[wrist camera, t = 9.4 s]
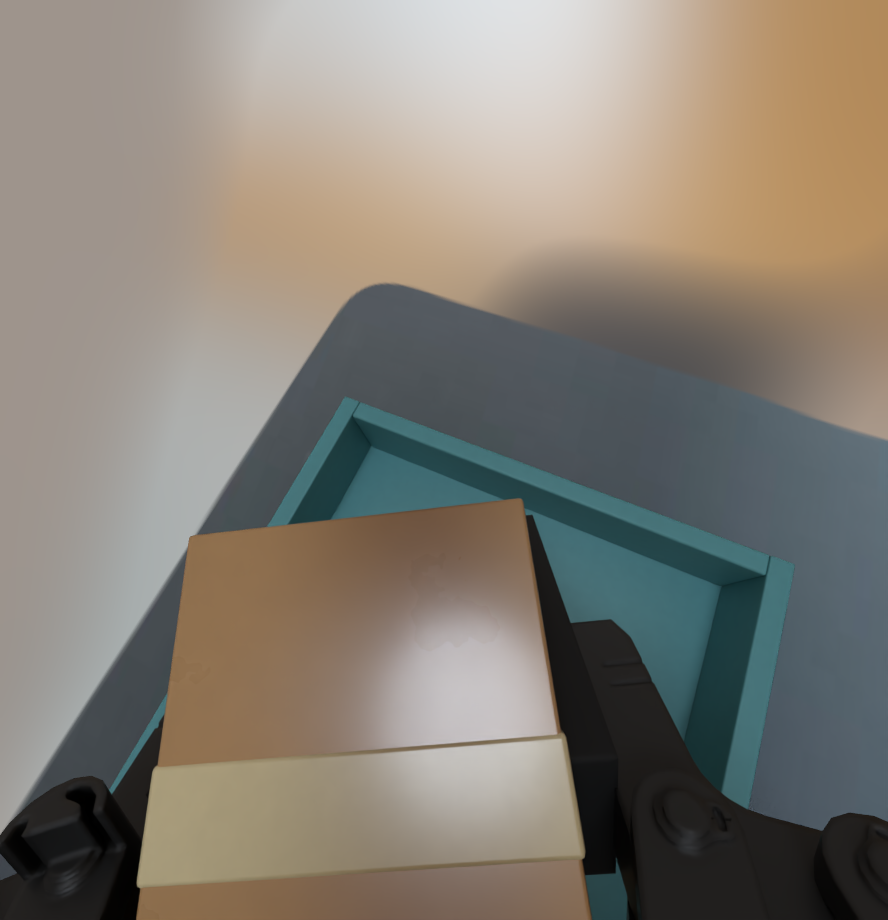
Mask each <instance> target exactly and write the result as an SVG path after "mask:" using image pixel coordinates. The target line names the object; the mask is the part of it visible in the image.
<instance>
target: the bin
mask: <svg viewBox="0 0 888 920" xmlns="http://www.w3.org/2000/svg"><path fill="white" fill-rule="evenodd" d="M516 498H520V499H522V500H523V503H524V509H525V515H533V517H534V520H535V523H536V526H537V529H538V532H539V534H540V537H541V540H542V543H543V546H544V549H545V551H546V554H547V557H548V560H549V563H550V566H551V568H552V571H553V574H554V577H555V580H556V583H557V585H558V588H559V591H560V594H561V597H562V600H563V602H564V605H565V608H566V611H567V614H568V617H569V619H570V622H571V623H576V622H587V621H597V620H607V619H612V620H613V621H614V622H615V623H616V624H617V625H618V626H619V627H620V628H621V629H623V630H624V631H625V632H626V633H627V634H628V635H629V636H630V637H631V639H632V640H633V642H634V644H635V646H636V648H637V650H638V652H639V654H640V656H641V658H642V662H643V664H645V666H646V668H647V670H648V672H649V674H650V676H651V678H652V682H653V683H654V684H655V686H656V688H657V690H658V692H659V694H660V696H661V698H662V700H663V702H664V704H665V706H666V708H667V710H668V712H669V714H670V715H671V717H672V719H673V721H674V723H675V725H676V727H677V729H678V731H679V733H680V735H681V737H682V739H683V741H684V743H685V745H686V747H687V749H688V751H689V753H690V755H691V757H692V759H693V761H694V762H695V764H696V765H697V767H698V768H699V770H700V772H701V773H702V774H703V775H704V776H705V777H706V779H707V780H708V781H709V782H710V783H711V784H712V785H713V786H714V787H715V788H716V789H717V790H719V791H720V792H721V793H722V794H724V795H725V796H726V797H728V798H729V799H730V800H732V801H734V802H735V803H737V804H739V805H741V806H743V807H744V808H746V809H748V807H749V802H750V797H751V792H752V787H753V781H754V776H755V771H756V766H757V761H758V755H759V750H760V745H761V740H762V735H763V729H764V724H765V719H766V714H767V709H768V703H769V698H770V693H771V688H772V683H773V677H774V672H775V667H776V662H777V657H778V651H779V646H780V641H781V636H782V631H783V625H784V620H785V615H786V610H787V605H788V599H789V594H790V589H791V584H792V578H793V573H794V568H795V565H794V564H792V563H790V562H787V561H784V560H782V559H779V558H776V557H774V556H769V555H767V554H764V553H762V552H759V551H756V550H754V549H751V548H748V547H746V546H743V545H740V544H738V543H735V542H732V541H730V540H727V539H724V538H722V537H719V536H716V535H714V534H711V533H708V532H706V531H703V530H700V529H698V528H695V527H692V526H690V525H687V524H684V523H682V522H679V521H676V520H674V519H671V518H668V517H666V516H663V515H660V514H658V513H655V512H652V511H650V510H647V509H644V508H642V507H639V506H636V505H634V504H631V503H628V502H626V501H623V500H620V499H618V498H615V497H612V496H610V495H607V494H604V493H601V492H599V491H596V490H593V489H591V488H588V487H585V486H583V485H580V484H577V483H575V482H572V481H569V480H567V479H564V478H561V477H559V476H556V475H553V474H551V473H548V472H545V471H543V470H540V469H537V468H535V467H532V466H529V465H527V464H524V463H521V462H519V461H516V460H513V459H511V458H508V457H505V456H503V455H500V454H497V453H495V452H492V451H489V450H487V449H484V448H481V447H479V446H476V445H473V444H471V443H468V442H465V441H463V440H460V439H457V438H455V437H452V436H449V435H447V434H444V433H441V432H439V431H436V430H433V429H431V428H428V427H425V426H422V425H420V424H417V423H414V422H412V421H409V420H406V419H404V418H401V417H398V416H396V415H393V414H390V413H388V412H385V411H382V410H380V409H377V408H374V407H372V406H369V405H366V404H364V403H360V402H359V401H356V400H354V399H351V398H348V397H345V398H344V399H343V401H342V403H341V404H340V406H339V408H338V409H337V411H336V413H335V414H334V416H333V418H332V419H331V421H330V423H329V424H328V426H327V428H326V429H325V431H324V433H323V434H322V436H321V438H320V439H319V441H318V443H317V444H316V446H315V448H314V449H313V451H312V453H311V454H310V456H309V458H308V459H307V461H306V463H305V464H304V466H303V468H302V469H301V471H300V473H299V474H298V476H297V478H296V479H295V481H294V483H293V484H292V486H291V488H290V489H289V491H288V493H287V494H286V496H285V498H284V499H283V501H282V503H281V504H280V506H279V508H278V509H277V511H276V513H275V514H274V516H273V518H272V519H271V521H270V523H269V524H268V526H267V527H272V526H280V525H289V524H298V523H307V522H315V521H324V520H333V519H341V518H350V517H359V516H368V515H376V514H385V513H394V512H403V511H411V510H420V509H429V508H437V507H446V506H455V505H464V504H472V503H481V502H490V501H498V500H507V499H516ZM167 694H168V693H167ZM167 694H166V696H165V698H164V699H163V701H162V703H161V704H160V706H159V708H158V709H157V711H156V713H155V714H154V716H153V718H152V719H151V721H150V723H149V724H148V726H147V728H146V729H145V731H144V733H143V734H142V736H141V738H140V739H139V741H138V743H137V744H136V746H135V748H134V749H133V751H132V753H131V754H130V756H129V758H128V759H127V761H126V763H125V764H124V766H123V768H122V769H121V771H120V773H119V774H118V776H117V778H116V779H115V781H114V783H113V784H112V786H111V788H110V789H109V791H110V792H111V794H112V793H113V792H114V790H115V789H116V787H117V786H118V784H119V783H120V781H121V780H122V778H123V776H124V775H125V773H126V772H127V770H128V769H129V767H130V766H131V764H132V763H133V761H134V760H135V758H136V757H137V755H138V754H139V752H140V750H141V749H142V747H143V746H144V744H145V743H146V741H147V740H148V738H149V737H150V735H151V734H152V732H153V731H154V729H155V728H158V726H159V724H158V723H159V721H160V720H161V718H162V717H163V715H164V714H165V708H166V701H167ZM585 879H586V885H587V891H588V897H589V903H590V909H591V915H592V920H626V918H627V893H626V890H625V886H624V883H623V880H622V876H621V873H620V869H619V866H618V862H617V859H616V874H600V875H585Z"/></svg>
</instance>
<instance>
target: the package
mask: <svg viewBox="0 0 888 920" xmlns="http://www.w3.org/2000/svg"><path fill="white" fill-rule="evenodd" d="M585 852H586V850H585V844H584V838H583V832H582V826H581V820H580V814H579V808H578V802H577V796H576V790H575V784H574V778H573V772H572V767H571V761H570V755H569V749H568V743H567V737H566V736H565V734H564V732H563V731H562V730H561V727H560V721H559V715H558V709H557V703H556V697H555V691H554V685H553V678H552V672H551V666H550V660H549V654H548V648H547V642H546V636H545V630H544V624H543V618H542V612H541V606H540V600H539V594H538V588H537V581H536V575H535V569H534V563H533V557H532V551H531V545H530V539H529V533H528V527H527V521H526V515H525V509H524V503H523V500H522V499H520V498H516V499H507V500H498V501H490V502H481V503H472V504H464V505H455V506H446V507H437V508H429V509H420V510H411V511H403V512H394V513H385V514H376V515H368V516H359V517H350V518H341V519H333V520H324V521H315V522H307V523H298V524H289V525H280V526H272V527H263V528H254V529H246V530H237V531H228V532H219V533H211V534H202V535H194V536H191V537H190V538H189V543H188V550H187V557H186V565H185V572H184V579H183V586H182V593H181V600H180V608H179V615H178V622H177V629H176V636H175V643H174V651H173V658H172V665H171V672H170V679H169V686H168V694H167V701H166V708H165V715H164V722H163V729H162V737H161V744H160V751H159V758H158V765H157V766H156V767H155V768H154V769H153V772H152V777H151V784H150V791H149V798H148V805H147V812H146V820H145V827H144V834H143V841H142V848H141V855H140V862H139V869H138V876H137V887H139V888H140V894H139V902H138V909H137V916H136V920H592V915H591V909H590V903H589V897H588V891H587V885H586V879H585V873H584V866H583V860H582V859H583V858H585Z"/></svg>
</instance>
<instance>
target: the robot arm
mask: <svg viewBox="0 0 888 920" xmlns="http://www.w3.org/2000/svg"><path fill="white" fill-rule="evenodd" d="M526 521H527V527H528V533H529V539H530V545H531V551H532V557H533V563H534V569H535V575H536V581H537V588H538V594H539V600H540V606H541V612H542V618H543V624H544V630H545V636H546V642H547V648H548V654H549V660H550V666H551V672H552V678H553V685H554V691H555V697H556V703H557V709H558V715H559V721H560V727H561V730H562V731H563V732H564V734H565V736H566V737H567V743H568V749H569V755H570V761H571V767H572V772H573V778H574V784H575V790H576V796H577V802H578V808H579V814H580V820H581V826H582V832H583V838H584V844H585V850H586V852H585V858H583V859H582V860H583V866H584V873H585V875H600V874H616V859H617V862H618V866H619V869H620V873H621V876H622V880H623V883H624V886H625V890H626V893H627V918H626V920H888V822H887V821H884V820H882V819H880V818H877V817H875V816H869V815H862V814H855V813H847V814H843V815H840V816H837V817H833V818H831V819H830V821H829V822H828V824H827V825H826V827H825V828H824V830H823V831H820V830H816V829H813V828H809V827H805V826H801V825H798V824H794V823H790V822H786V821H783V820H779V819H775V818H771V817H768V816H764V815H762V814H759V813H756V812H754V811H751V810H748V809H746V808H744V807H743V806H741V805H739V804H737V803H735V802H734V801H732V800H730V799H729V798H728V797H726V796H725V795H724V794H722V793H721V792H720V791H719V790H717V789H716V788H715V787H714V786H713V785H712V784H711V783H710V782H709V781H708V780H707V779H706V777H705V776H704V775H703V774H702V773H701V772H700V770H699V768H698V767H697V765H696V764H695V762H694V761H693V759H692V757H691V755H690V753H689V751H688V749H687V747H686V745H685V743H684V741H683V739H682V737H681V735H680V733H679V731H678V729H677V727H676V725H675V723H674V721H673V719H672V717H671V715H670V714H669V712H668V710H667V708H666V706H665V704H664V702H663V700H662V698H661V696H660V694H659V692H658V690H657V688H656V686H655V684H654V683H653V682H652V678H651V676H650V674H649V672H648V670H647V668H646V666H645V664H643V662H642V658H641V656H640V654H639V652H638V650H637V648H636V646H635V644H634V642H633V640H632V639H631V637H630V636H629V635H628V634H627V633H626V632H625V631H624V630H623V629H621V628H620V627H619V626H618V625H617V624H616V623H615V622H614V621H613V620H612V619H607V620H597V621H587V622H576V623H571V622H570V619H569V617H568V614H567V611H566V608H565V605H564V602H563V600H562V597H561V594H560V591H559V588H558V585H557V583H556V580H555V577H554V574H553V571H552V568H551V566H550V563H549V560H548V557H547V554H546V551H545V549H544V546H543V543H542V540H541V537H540V534H539V532H538V529H537V526H536V523H535V520H534V517H533V515H526ZM164 715H165V714H164ZM164 715H163V717H162V718H161V720H160V721H159V723H158V724H159V726H158V728H155V729H154V731H153V732H152V734H151V735H150V737H149V738H148V740H147V741H146V743H145V744H144V746H143V747H142V749H141V750H140V752H139V754H138V755H137V757H136V758H135V760H134V761H133V763H132V764H131V766H130V767H129V769H128V770H127V772H126V773H125V775H124V776H123V778H122V780H121V781H120V783H119V784H118V786H117V787H116V789H115V790H114V792H113V793H112V794H111V792H110V791H109V789H108V788H107V786H106V785H105V783H104V782H103V780H100V779H98V778H95V777H93V776H86V777H80V778H74V779H71V780H69V781H67V782H65V783H62V784H60V785H58V786H56V787H53V788H52V789H50V790H49V791H47V792H46V793H45V794H43V795H42V796H40V797H39V798H37V799H36V800H34V801H33V802H31V803H30V804H29V805H28V806H27V807H26V808H25V809H24V810H23V811H22V812H21V813H20V814H18V815H17V816H16V817H15V818H14V819H13V820H12V821H11V822H10V823H9V824H8V826H7V827H6V828H5V830H4V831H3V832H2V833H1V835H0V854H1V855H2V856H3V857H4V858H5V859H6V861H7V862H8V863H9V864H10V865H11V866H12V867H13V869H14V870H15V871H16V872H17V874H15V875H12V876H10V877H8V878H5V879H3V880H0V920H136V916H137V909H138V902H139V894H140V888H139V887H137V876H138V869H139V862H140V855H141V848H142V841H143V834H144V827H145V820H146V812H147V805H148V798H149V791H150V784H151V777H152V772H153V769H154V768H155V767H156V766H157V765H158V758H159V751H160V744H161V737H162V729H163V722H164Z"/></svg>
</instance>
